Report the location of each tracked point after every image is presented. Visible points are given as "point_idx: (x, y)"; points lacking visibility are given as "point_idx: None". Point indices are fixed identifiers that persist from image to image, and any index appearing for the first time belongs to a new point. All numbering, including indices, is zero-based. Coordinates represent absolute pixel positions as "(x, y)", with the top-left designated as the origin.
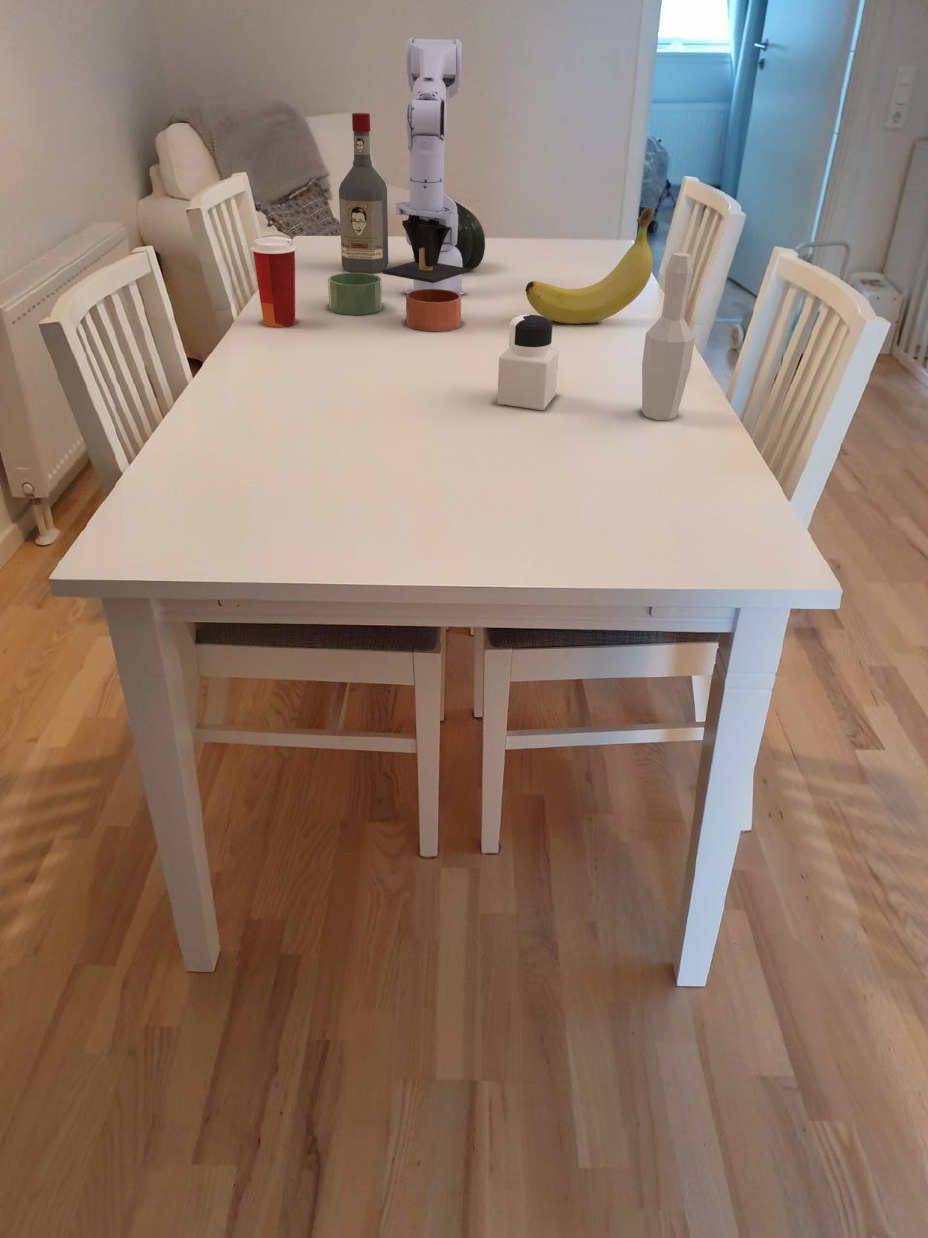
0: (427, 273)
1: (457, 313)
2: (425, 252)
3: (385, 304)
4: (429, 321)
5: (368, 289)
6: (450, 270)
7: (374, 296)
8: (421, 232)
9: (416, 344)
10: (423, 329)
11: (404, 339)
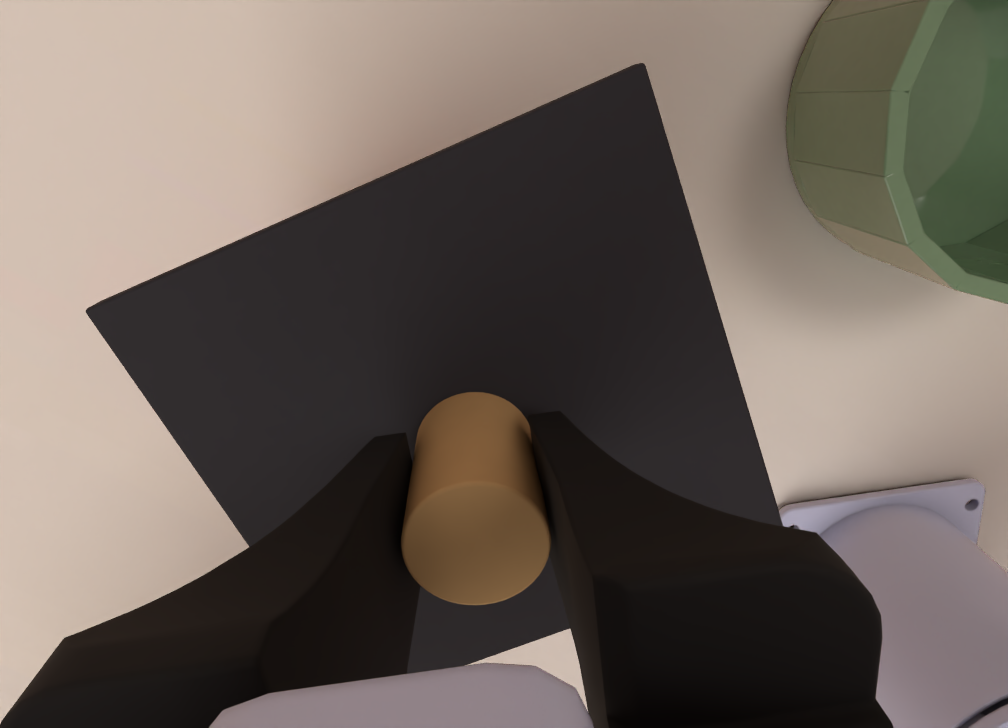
0: (331, 381)
1: None
2: (355, 478)
3: (884, 297)
4: None
5: (866, 112)
6: None
7: (832, 161)
8: (293, 585)
9: (92, 27)
10: None
11: (215, 16)
